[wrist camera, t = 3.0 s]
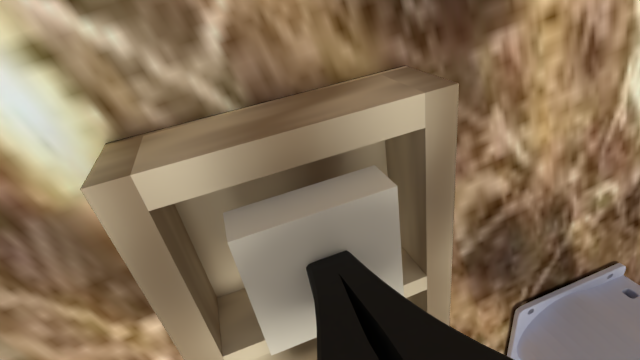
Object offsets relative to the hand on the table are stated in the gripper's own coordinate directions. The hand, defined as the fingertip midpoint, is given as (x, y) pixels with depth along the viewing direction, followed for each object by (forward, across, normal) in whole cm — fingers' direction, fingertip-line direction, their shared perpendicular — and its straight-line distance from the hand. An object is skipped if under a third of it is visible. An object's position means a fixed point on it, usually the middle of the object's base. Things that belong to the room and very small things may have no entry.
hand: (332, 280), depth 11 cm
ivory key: (+3, 0, 0) cm, 3 cm away
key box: (+5, 0, +8) cm, 9 cm away
